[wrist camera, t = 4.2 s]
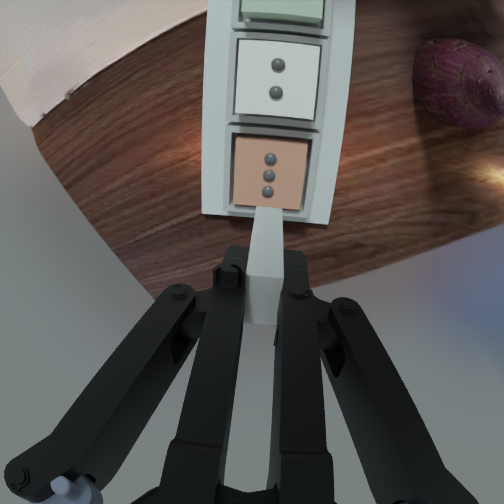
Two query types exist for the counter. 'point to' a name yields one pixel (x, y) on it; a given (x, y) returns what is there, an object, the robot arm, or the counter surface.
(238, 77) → the key two
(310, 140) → the console
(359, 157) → the counter surface
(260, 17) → the key one
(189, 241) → the counter surface
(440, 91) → the vegetable
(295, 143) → the key three
